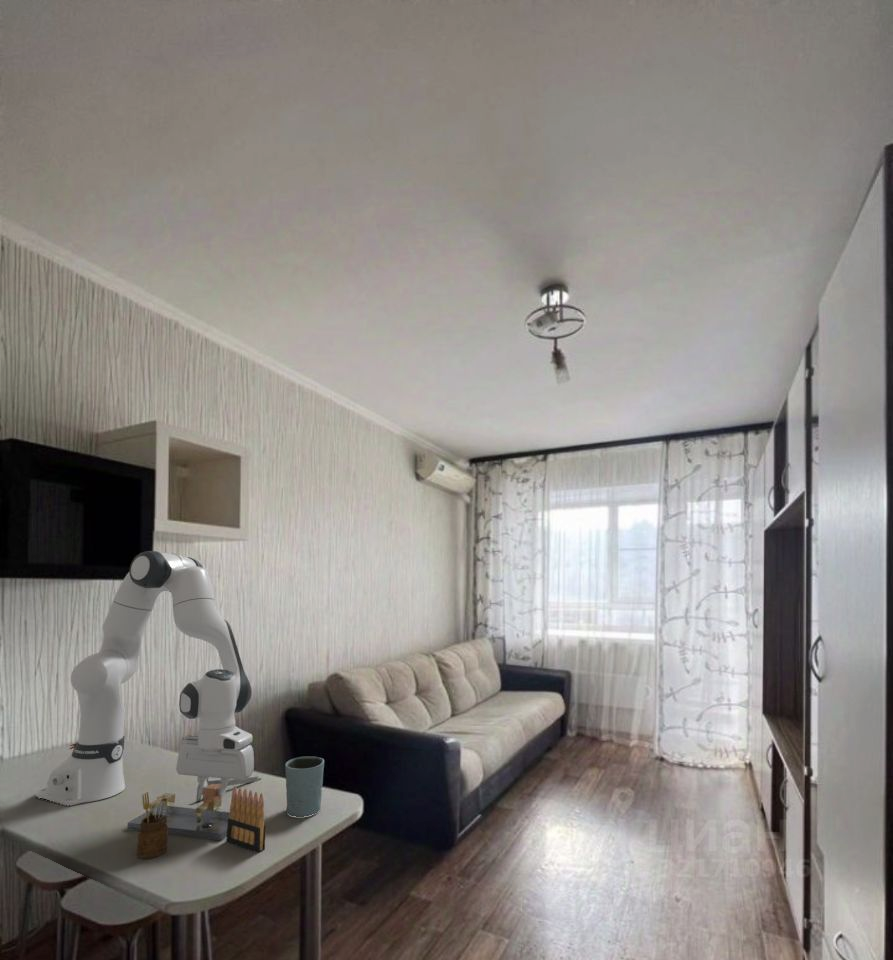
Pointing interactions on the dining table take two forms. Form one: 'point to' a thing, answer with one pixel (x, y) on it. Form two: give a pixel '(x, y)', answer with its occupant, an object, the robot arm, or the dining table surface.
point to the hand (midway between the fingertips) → (213, 795)
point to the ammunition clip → (246, 821)
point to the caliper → (232, 782)
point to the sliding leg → (209, 800)
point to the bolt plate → (187, 819)
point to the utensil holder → (152, 833)
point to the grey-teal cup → (304, 785)
